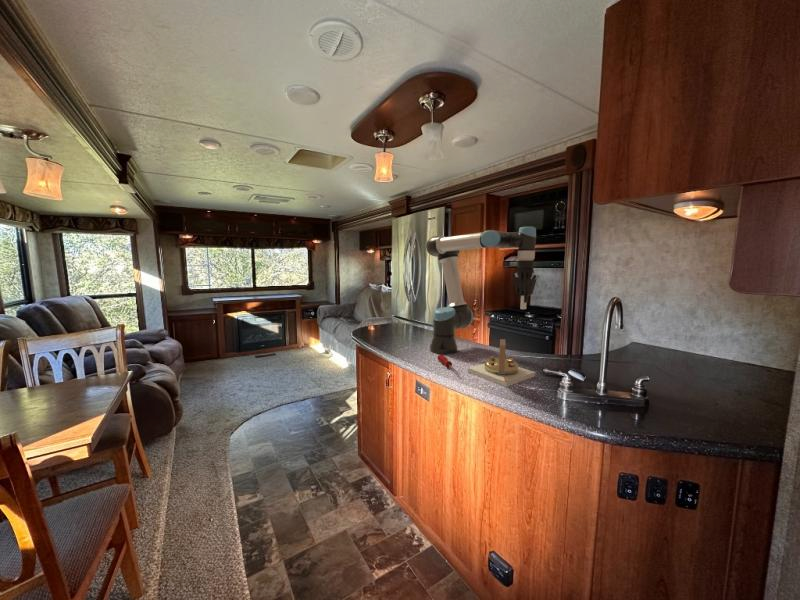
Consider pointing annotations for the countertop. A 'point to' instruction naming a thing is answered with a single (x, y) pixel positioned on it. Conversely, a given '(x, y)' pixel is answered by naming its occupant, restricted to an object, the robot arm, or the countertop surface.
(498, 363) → the brass flange bracket
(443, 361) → the screwdriver
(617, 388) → the countertop surface
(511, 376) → the plate
